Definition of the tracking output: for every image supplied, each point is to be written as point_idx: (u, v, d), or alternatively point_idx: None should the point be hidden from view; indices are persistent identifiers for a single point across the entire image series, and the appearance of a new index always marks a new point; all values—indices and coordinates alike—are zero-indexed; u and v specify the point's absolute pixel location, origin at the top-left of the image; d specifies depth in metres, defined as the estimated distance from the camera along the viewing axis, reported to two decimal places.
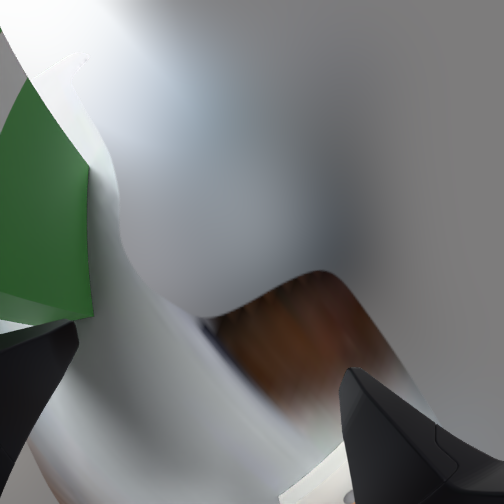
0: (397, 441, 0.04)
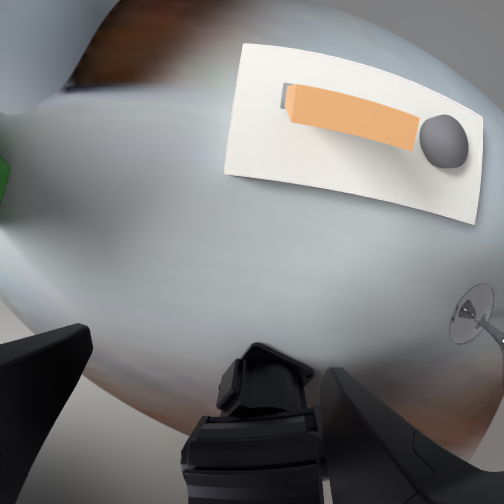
0: (372, 445, 0.04)
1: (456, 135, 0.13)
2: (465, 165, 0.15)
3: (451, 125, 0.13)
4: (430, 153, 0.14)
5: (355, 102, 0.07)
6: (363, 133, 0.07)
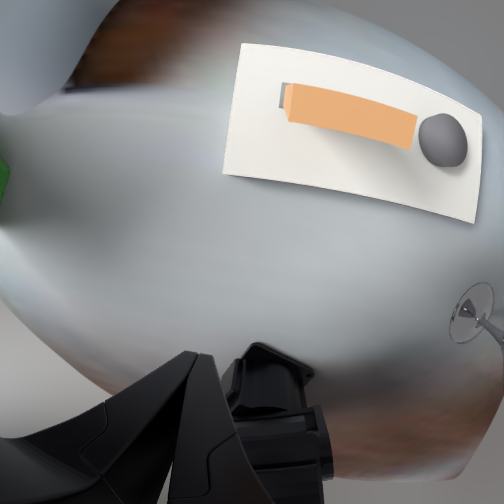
0: None
1: (455, 134, 0.13)
2: (464, 164, 0.15)
3: (450, 124, 0.13)
4: (429, 152, 0.14)
5: (352, 101, 0.07)
6: (361, 131, 0.07)
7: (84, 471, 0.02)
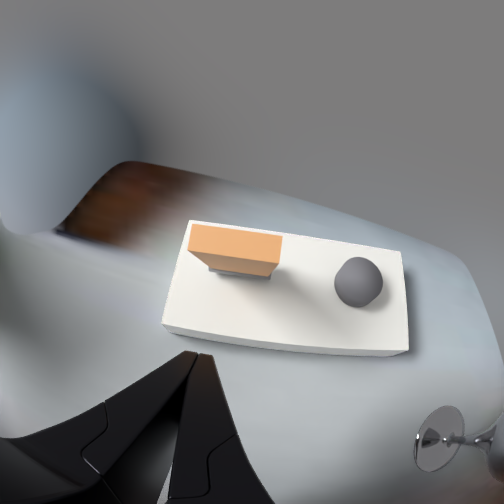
0: None
1: (368, 272, 0.19)
2: (386, 299, 0.20)
3: (362, 265, 0.20)
4: (344, 295, 0.19)
5: (230, 232, 0.12)
6: (237, 254, 0.12)
7: (84, 471, 0.02)
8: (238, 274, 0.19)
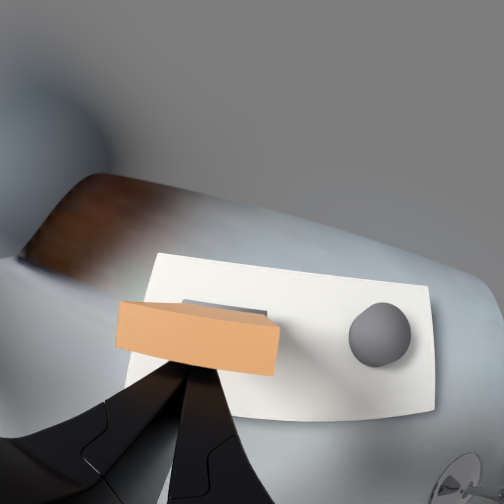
0: None
1: (393, 322, 0.14)
2: (411, 351, 0.14)
3: (386, 313, 0.14)
4: (362, 355, 0.13)
5: (185, 321, 0.06)
6: (198, 360, 0.06)
7: (84, 471, 0.02)
8: None
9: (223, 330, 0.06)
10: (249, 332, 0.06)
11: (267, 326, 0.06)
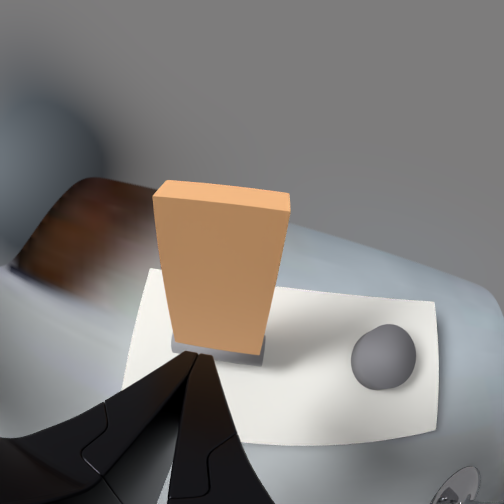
0: None
1: (398, 345, 0.13)
2: (415, 372, 0.13)
3: (391, 336, 0.13)
4: (364, 379, 0.12)
5: (217, 187, 0.08)
6: (226, 201, 0.08)
7: (84, 471, 0.02)
8: (214, 353, 0.12)
9: (247, 190, 0.08)
10: (266, 192, 0.08)
11: None
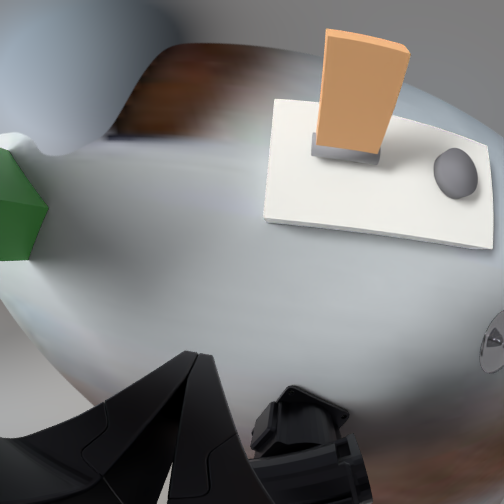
0: None
1: (465, 165, 0.14)
2: (477, 194, 0.16)
3: (460, 157, 0.14)
4: (444, 185, 0.15)
5: (362, 35, 0.09)
6: (374, 43, 0.08)
7: (84, 471, 0.02)
8: (346, 152, 0.15)
9: (381, 39, 0.09)
10: (392, 42, 0.09)
11: None
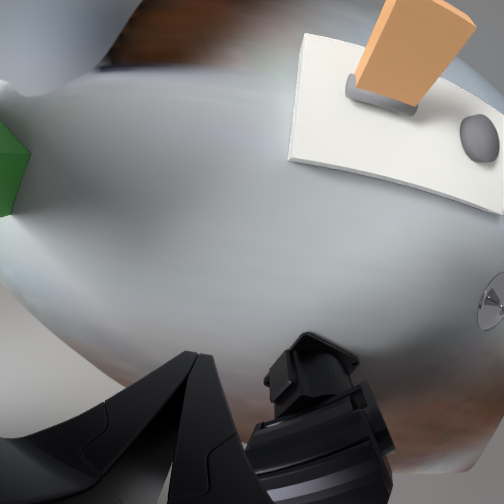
0: None
1: (490, 133, 0.12)
2: None
3: (486, 124, 0.12)
4: (470, 148, 0.13)
5: None
6: (446, 7, 0.05)
7: (84, 471, 0.02)
8: (385, 100, 0.13)
9: None
10: None
11: (462, 13, 0.05)
